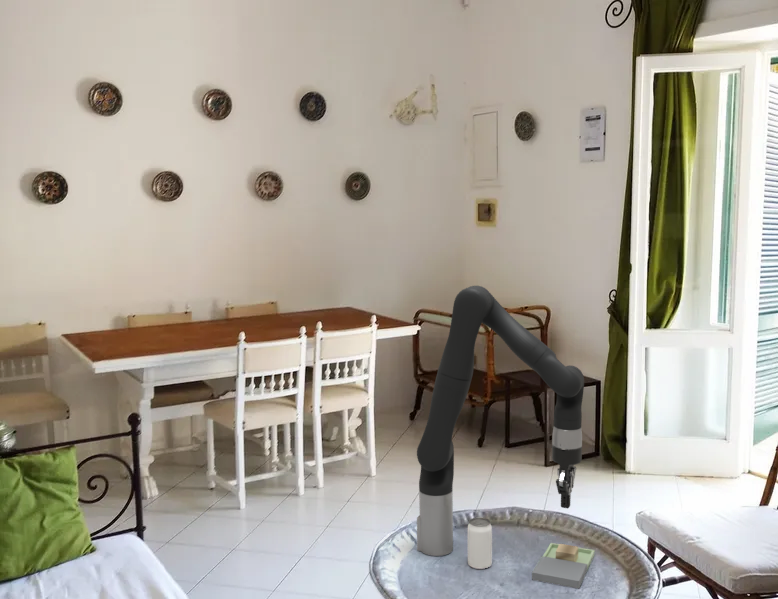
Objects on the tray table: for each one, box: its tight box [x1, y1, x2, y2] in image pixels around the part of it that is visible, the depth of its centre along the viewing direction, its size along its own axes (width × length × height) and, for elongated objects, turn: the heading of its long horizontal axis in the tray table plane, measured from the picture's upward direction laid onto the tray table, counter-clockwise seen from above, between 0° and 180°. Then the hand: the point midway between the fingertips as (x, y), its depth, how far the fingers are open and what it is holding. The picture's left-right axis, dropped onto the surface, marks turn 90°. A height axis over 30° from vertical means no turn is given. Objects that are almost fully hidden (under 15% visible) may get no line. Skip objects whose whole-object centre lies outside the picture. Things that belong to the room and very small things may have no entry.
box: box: [543, 542, 596, 571], centre depth 220 cm, size 12×10×2 cm
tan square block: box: [556, 543, 579, 562], centre depth 219 cm, size 5×5×3 cm
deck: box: [531, 556, 588, 589], centre depth 211 cm, size 12×10×2 cm
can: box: [466, 516, 493, 570], centre depth 217 cm, size 6×6×12 cm
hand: (565, 506), depth 214 cm, fingers closed
